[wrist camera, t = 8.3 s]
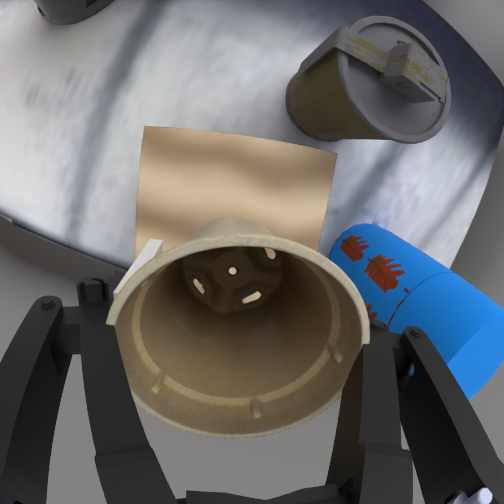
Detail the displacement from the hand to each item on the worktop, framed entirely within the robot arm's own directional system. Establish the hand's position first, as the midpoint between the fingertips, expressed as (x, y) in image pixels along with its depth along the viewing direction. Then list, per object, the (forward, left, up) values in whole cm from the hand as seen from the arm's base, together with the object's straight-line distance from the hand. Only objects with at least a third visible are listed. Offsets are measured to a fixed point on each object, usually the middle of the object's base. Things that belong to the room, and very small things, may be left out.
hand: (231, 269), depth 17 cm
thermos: (+5, +20, -20) cm, 29 cm away
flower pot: (0, 0, -1) cm, 1 cm away
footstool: (0, 0, -20) cm, 20 cm away
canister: (-15, +10, -20) cm, 27 cm away
